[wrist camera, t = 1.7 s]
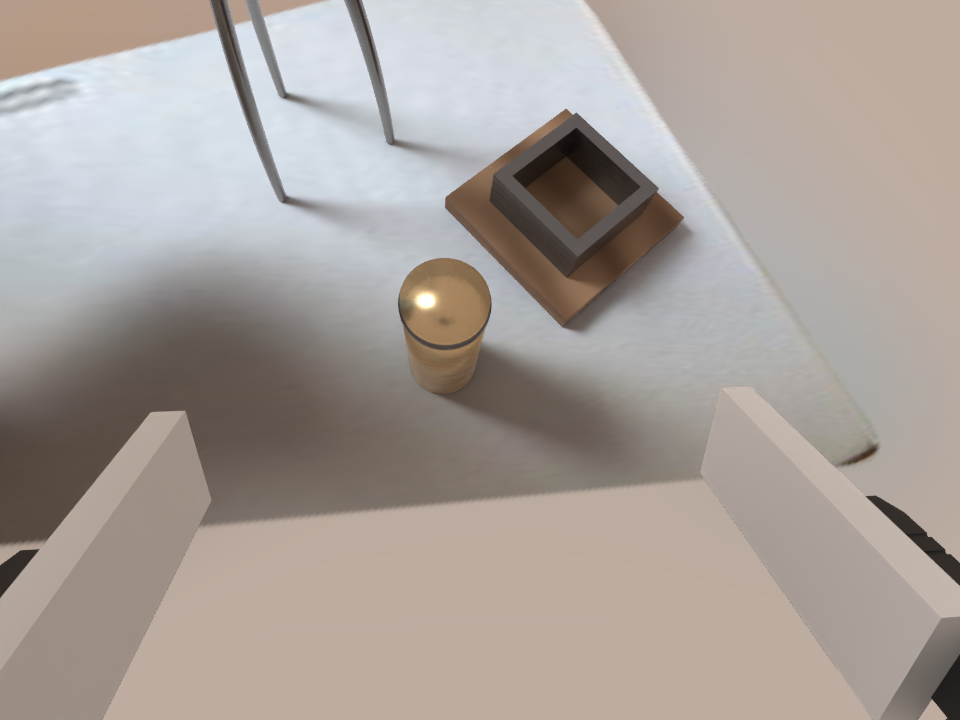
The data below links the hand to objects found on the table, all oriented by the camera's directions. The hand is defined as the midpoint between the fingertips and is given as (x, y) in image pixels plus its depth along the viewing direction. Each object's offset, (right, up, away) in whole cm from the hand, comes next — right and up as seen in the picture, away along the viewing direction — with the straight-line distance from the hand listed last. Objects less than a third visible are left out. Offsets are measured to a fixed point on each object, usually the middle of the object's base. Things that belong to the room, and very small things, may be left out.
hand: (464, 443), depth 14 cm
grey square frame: (+7, +15, +31) cm, 35 cm away
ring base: (+7, +14, +32) cm, 36 cm away
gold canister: (-2, +2, +27) cm, 28 cm away
